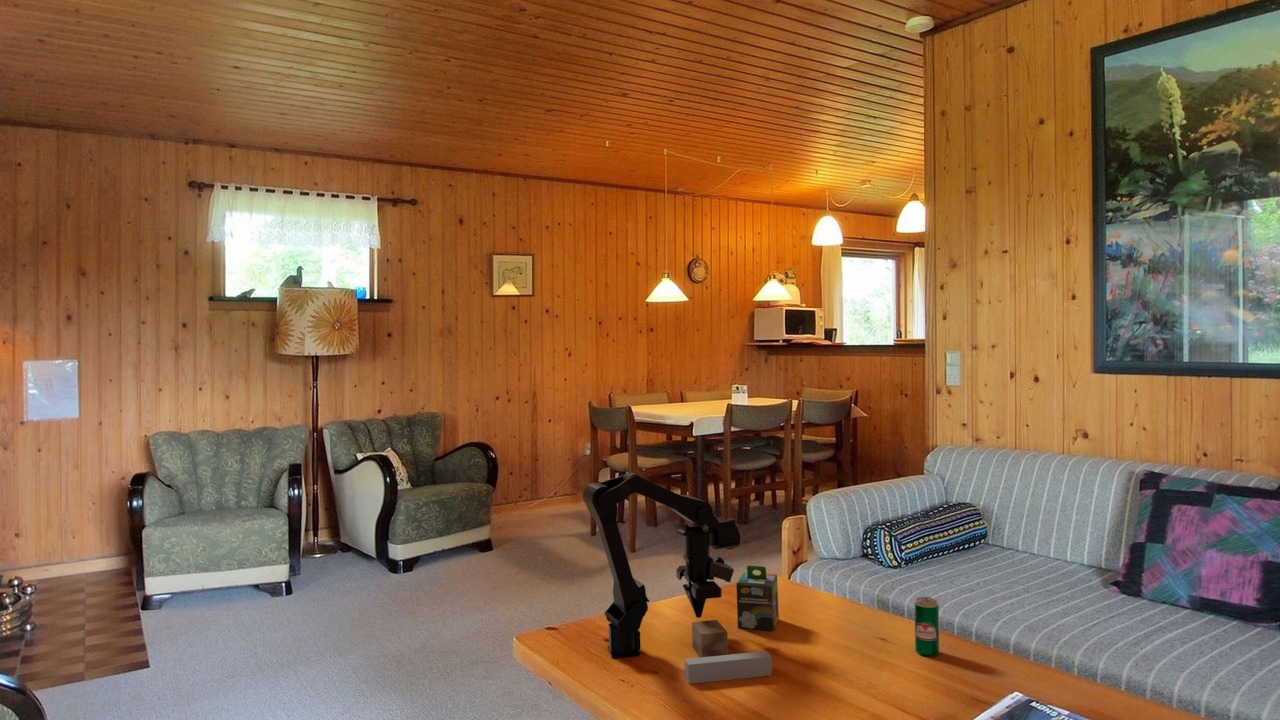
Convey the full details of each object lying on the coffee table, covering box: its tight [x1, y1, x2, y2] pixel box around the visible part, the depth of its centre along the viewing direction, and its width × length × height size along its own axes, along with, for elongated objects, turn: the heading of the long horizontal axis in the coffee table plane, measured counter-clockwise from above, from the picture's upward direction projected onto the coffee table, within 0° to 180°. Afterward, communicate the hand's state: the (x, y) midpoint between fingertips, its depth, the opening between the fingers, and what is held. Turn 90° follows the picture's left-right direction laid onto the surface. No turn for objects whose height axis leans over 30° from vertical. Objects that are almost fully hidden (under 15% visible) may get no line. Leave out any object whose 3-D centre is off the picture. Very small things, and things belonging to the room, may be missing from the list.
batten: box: [684, 650, 772, 685], centre depth 164 cm, size 18×3×4 cm, turn 101°
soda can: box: [914, 596, 940, 657], centre depth 174 cm, size 5×5×12 cm
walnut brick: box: [691, 619, 729, 658], centre depth 177 cm, size 6×8×6 cm
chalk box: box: [735, 565, 780, 632], centre depth 195 cm, size 9×9×15 cm
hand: (698, 617), depth 186 cm, fingers closed
